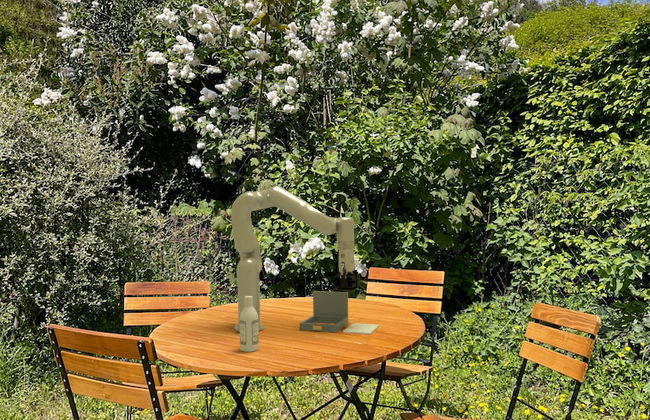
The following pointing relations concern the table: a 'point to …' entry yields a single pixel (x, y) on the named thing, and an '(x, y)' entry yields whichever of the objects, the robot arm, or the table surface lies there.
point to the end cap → (352, 282)
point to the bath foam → (249, 327)
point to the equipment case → (327, 312)
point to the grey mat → (361, 328)
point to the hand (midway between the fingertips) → (346, 285)
